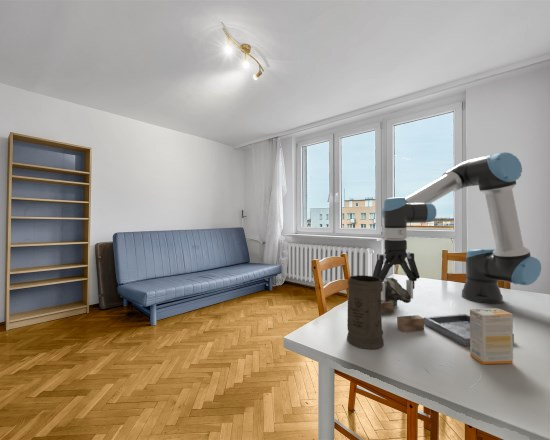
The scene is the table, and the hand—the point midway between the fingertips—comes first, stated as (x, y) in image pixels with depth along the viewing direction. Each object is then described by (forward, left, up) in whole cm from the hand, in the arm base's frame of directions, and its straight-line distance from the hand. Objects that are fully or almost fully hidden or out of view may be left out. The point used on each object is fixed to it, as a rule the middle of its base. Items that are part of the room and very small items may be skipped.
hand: (396, 298), depth 99 cm
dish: (-16, +14, -8) cm, 22 cm away
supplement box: (-8, +30, -8) cm, 32 cm away
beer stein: (+18, +12, -8) cm, 23 cm away
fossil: (0, 0, -1) cm, 1 cm away
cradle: (0, 0, -8) cm, 8 cm away
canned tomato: (-7, -16, -8) cm, 19 cm away
